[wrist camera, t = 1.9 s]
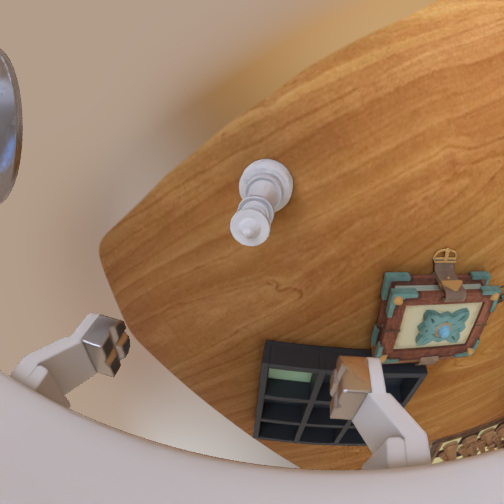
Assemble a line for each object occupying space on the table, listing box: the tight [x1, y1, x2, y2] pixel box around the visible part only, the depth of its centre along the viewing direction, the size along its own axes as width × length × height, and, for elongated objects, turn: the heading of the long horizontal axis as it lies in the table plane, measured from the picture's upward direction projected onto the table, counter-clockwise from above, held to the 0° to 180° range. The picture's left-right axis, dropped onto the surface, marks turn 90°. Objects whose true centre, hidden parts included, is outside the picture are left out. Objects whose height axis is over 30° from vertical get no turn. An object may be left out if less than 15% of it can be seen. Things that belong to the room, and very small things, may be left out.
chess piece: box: [230, 159, 293, 246], centre depth 21 cm, size 4×4×10 cm
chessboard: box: [429, 417, 504, 464], centre depth 43 cm, size 45×45×10 cm
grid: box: [253, 340, 428, 446], centre depth 37 cm, size 20×20×4 cm
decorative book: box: [371, 248, 504, 366], centre depth 26 cm, size 13×18×5 cm
